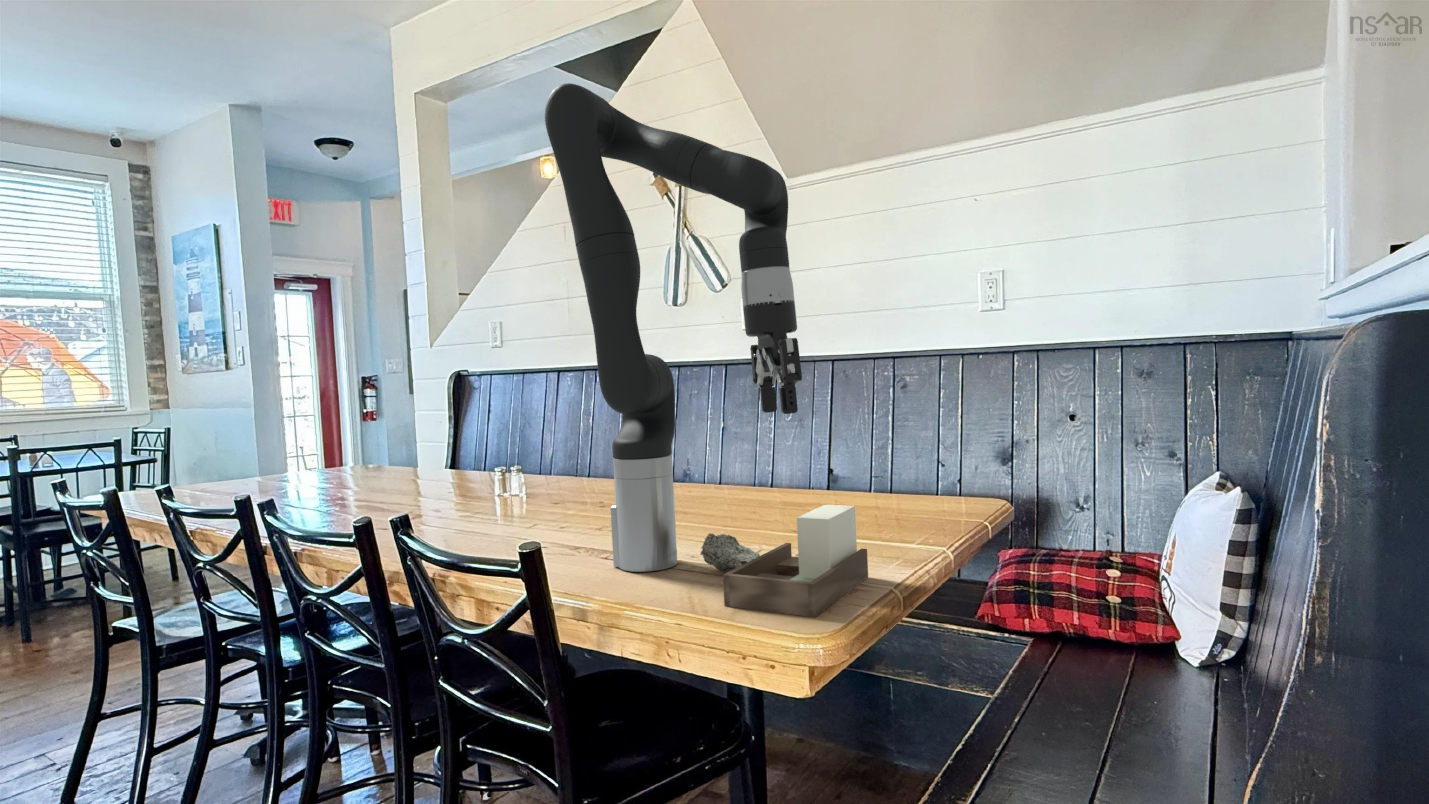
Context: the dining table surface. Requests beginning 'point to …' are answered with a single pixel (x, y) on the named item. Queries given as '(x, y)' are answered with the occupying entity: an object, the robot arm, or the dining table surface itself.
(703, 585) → the dining table surface
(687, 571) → the dining table surface
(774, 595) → the box
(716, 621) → the dining table surface
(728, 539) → the rock sample
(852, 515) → the brick
